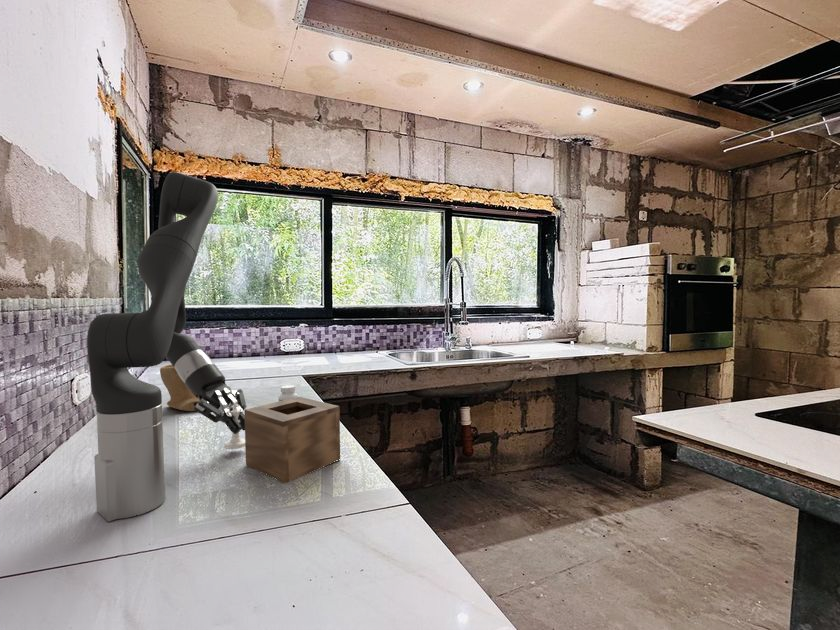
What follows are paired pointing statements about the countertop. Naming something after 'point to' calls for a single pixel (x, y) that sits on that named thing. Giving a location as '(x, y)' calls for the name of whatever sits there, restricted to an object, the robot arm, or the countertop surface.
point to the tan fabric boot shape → (177, 390)
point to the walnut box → (292, 437)
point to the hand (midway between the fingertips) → (243, 429)
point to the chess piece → (236, 439)
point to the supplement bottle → (287, 392)
